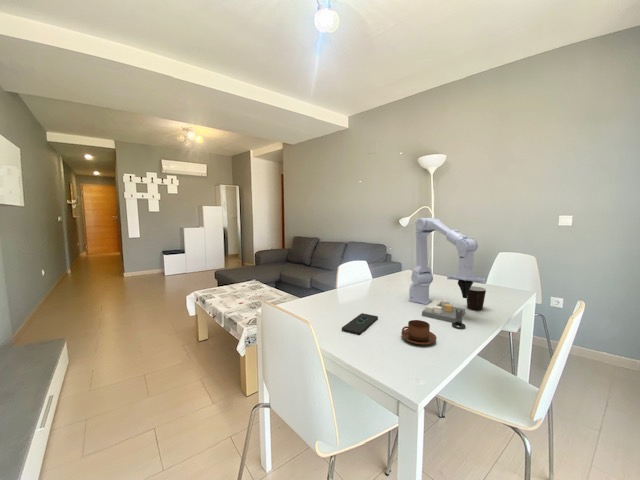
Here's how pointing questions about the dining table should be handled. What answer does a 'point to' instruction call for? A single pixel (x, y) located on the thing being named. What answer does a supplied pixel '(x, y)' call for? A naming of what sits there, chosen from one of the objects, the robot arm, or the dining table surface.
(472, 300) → the coffee mug
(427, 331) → the cup and saucer
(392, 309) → the dining table surface
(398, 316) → the dining table surface
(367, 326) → the smart home device
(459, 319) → the black door knob
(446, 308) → the block
